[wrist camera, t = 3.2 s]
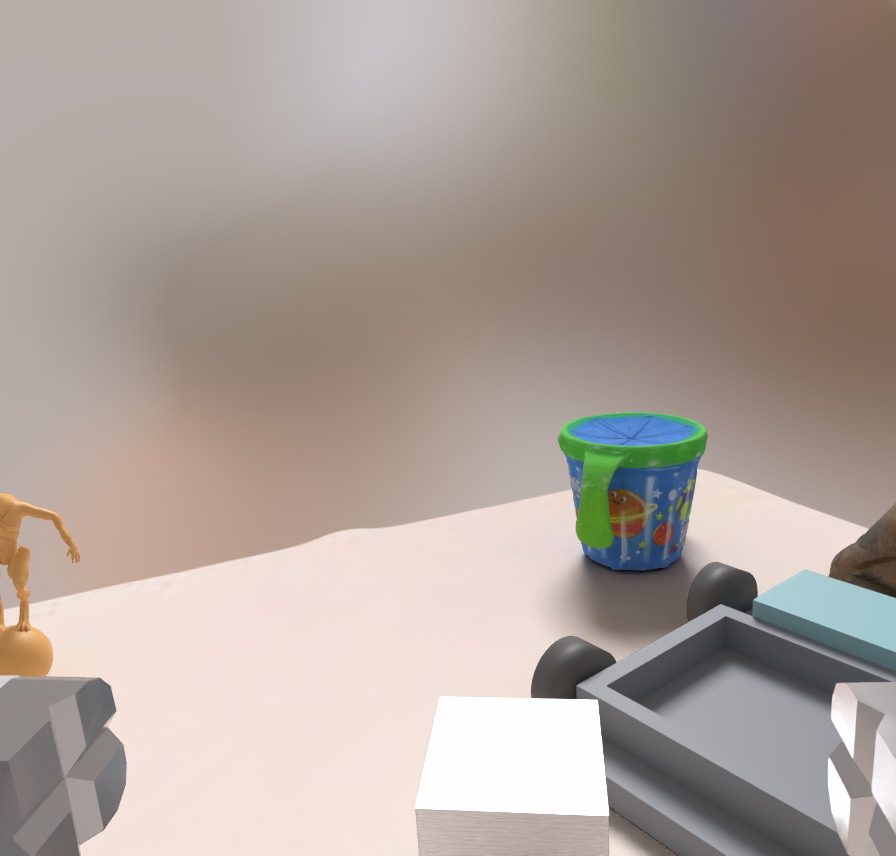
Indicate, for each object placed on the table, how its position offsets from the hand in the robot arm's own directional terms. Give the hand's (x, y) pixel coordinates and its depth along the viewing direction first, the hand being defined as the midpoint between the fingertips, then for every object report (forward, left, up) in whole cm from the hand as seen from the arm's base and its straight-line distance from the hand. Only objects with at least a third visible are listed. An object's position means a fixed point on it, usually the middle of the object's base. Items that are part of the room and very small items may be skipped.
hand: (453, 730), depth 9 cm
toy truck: (+28, +11, -20) cm, 37 cm away
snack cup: (+40, +31, -21) cm, 55 cm away
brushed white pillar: (+8, +9, -20) cm, 24 cm away
